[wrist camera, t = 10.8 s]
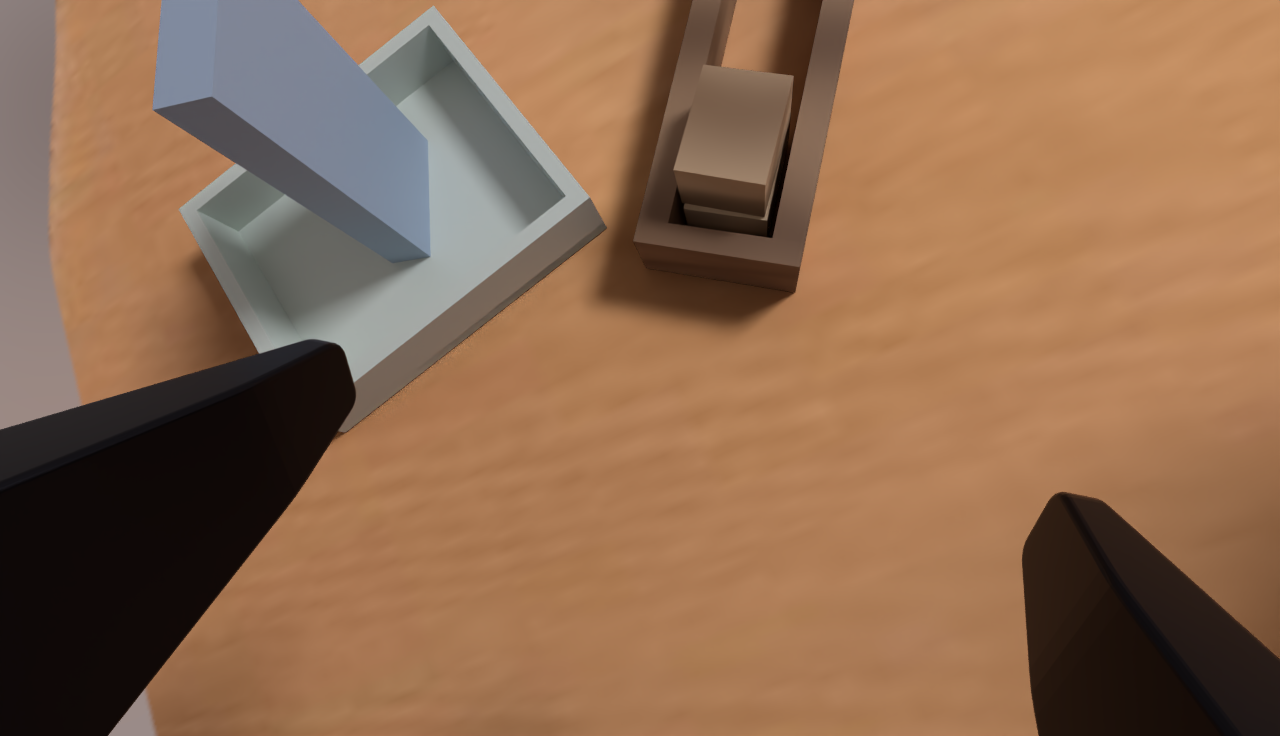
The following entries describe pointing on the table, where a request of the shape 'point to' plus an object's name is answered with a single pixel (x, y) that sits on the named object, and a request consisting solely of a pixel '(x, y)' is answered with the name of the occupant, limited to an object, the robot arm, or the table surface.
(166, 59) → the pale blue tall block
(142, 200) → the table surface
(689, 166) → the offcut
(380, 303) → the tray
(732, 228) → the offcut
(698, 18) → the rack
